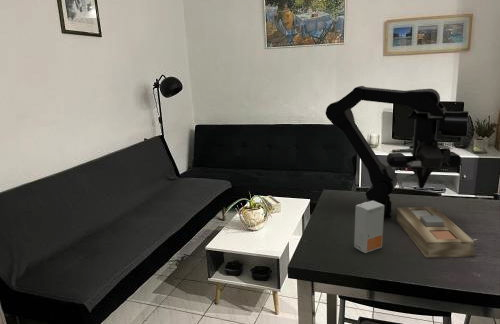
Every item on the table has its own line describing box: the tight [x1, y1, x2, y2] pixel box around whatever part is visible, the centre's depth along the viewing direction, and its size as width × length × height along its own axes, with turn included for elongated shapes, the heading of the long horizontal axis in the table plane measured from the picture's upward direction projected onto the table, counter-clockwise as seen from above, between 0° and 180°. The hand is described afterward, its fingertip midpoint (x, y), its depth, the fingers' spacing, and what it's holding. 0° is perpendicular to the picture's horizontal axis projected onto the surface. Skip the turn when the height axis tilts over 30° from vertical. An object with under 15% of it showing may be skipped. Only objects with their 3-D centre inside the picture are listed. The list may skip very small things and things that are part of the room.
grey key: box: [420, 215, 444, 227], centre depth 101 cm, size 4×4×2 cm
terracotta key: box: [431, 231, 456, 239], centre depth 95 cm, size 4×4×2 cm
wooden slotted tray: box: [396, 206, 475, 258], centre depth 102 cm, size 11×22×4 cm, turn 177°
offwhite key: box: [411, 210, 431, 216], centre depth 109 cm, size 4×4×2 cm
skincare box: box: [353, 201, 385, 254], centre depth 97 cm, size 6×4×12 cm
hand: (420, 187), depth 109 cm, fingers closed
